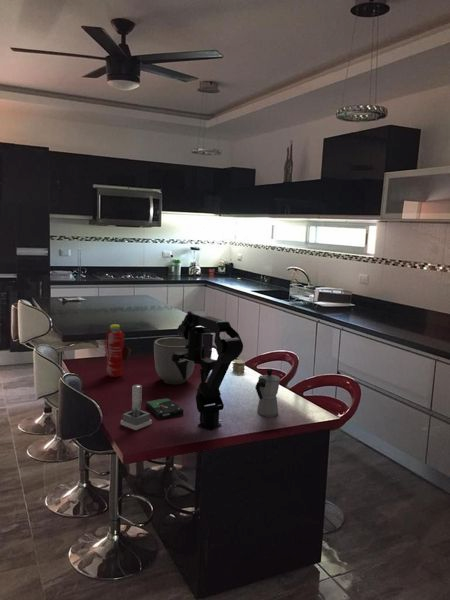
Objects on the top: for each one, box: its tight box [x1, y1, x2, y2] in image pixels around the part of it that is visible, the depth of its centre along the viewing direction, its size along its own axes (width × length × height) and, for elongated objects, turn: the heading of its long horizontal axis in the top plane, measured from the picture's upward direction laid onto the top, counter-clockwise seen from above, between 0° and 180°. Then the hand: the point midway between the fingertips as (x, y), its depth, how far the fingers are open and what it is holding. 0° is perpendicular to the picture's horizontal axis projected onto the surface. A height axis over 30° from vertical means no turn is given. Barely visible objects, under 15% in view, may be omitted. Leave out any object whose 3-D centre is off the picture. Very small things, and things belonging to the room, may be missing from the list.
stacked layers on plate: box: [231, 358, 246, 374], centre depth 258 cm, size 10×9×6 cm
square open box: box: [120, 410, 153, 431], centre depth 187 cm, size 8×8×4 cm
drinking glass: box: [131, 384, 143, 417], centre depth 186 cm, size 3×3×13 cm
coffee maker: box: [255, 368, 281, 417], centre depth 202 cm, size 15×9×18 cm, turn 141°
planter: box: [153, 336, 196, 386], centre depth 237 cm, size 20×20×19 cm
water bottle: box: [104, 323, 132, 378], centre depth 243 cm, size 12×8×25 cm, turn 116°
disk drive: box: [145, 397, 184, 420], centre depth 202 cm, size 10×3×15 cm
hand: (193, 381), depth 197 cm, fingers open, 9 cm apart
